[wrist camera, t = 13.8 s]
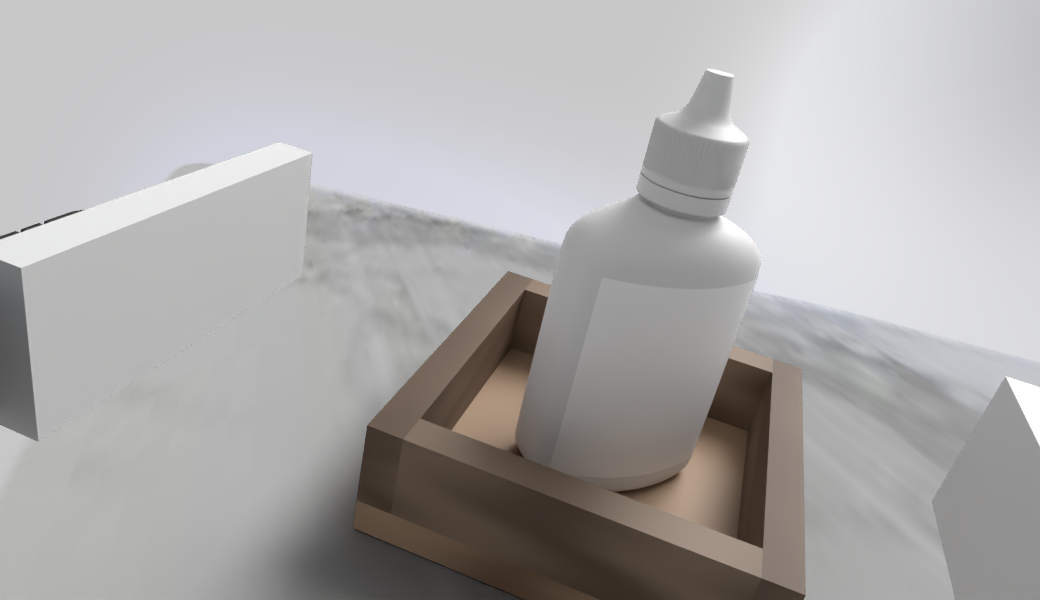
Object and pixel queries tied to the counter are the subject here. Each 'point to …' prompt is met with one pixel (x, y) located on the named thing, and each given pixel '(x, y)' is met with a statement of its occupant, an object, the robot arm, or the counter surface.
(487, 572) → the walnut socket block
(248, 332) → the counter surface
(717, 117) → the eye dropper bottle
